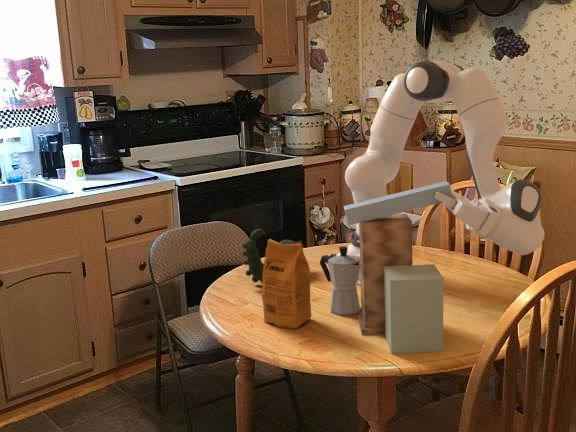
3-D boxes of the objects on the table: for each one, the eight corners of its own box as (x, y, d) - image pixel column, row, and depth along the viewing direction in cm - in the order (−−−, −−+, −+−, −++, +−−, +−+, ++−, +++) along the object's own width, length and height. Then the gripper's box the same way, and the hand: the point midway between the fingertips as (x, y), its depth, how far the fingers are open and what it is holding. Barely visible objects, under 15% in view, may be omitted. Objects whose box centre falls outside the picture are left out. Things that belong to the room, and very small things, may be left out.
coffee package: (280, 309, 182) (276, 233, 176) (317, 318, 174) (313, 239, 169) (257, 322, 174) (252, 243, 169) (294, 332, 167) (290, 249, 161)
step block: (391, 353, 152) (390, 280, 148) (385, 335, 162) (384, 266, 157) (443, 351, 152) (443, 278, 147) (433, 333, 161) (434, 264, 157)
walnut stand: (361, 334, 163) (358, 226, 156) (357, 317, 174) (354, 215, 167) (418, 331, 163) (417, 223, 156) (410, 314, 174) (409, 212, 167)
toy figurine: (264, 298, 196) (316, 267, 214) (256, 237, 190) (310, 211, 208) (241, 291, 202) (294, 262, 220) (232, 233, 196) (287, 208, 214)
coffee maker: (373, 310, 178) (372, 247, 173) (352, 320, 172) (350, 255, 168) (332, 298, 188) (330, 238, 184) (311, 307, 182) (308, 245, 178)
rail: (348, 225, 160) (344, 209, 159) (347, 221, 164) (343, 206, 163) (453, 199, 158) (450, 184, 157) (449, 196, 162) (446, 181, 161)
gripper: (476, 196, 171) (430, 172, 169) (500, 215, 151) (448, 188, 149) (463, 217, 172) (418, 193, 171) (486, 238, 152) (434, 212, 151)
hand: (432, 191), depth 160 cm, fingers closed on rail, 4 cm apart
